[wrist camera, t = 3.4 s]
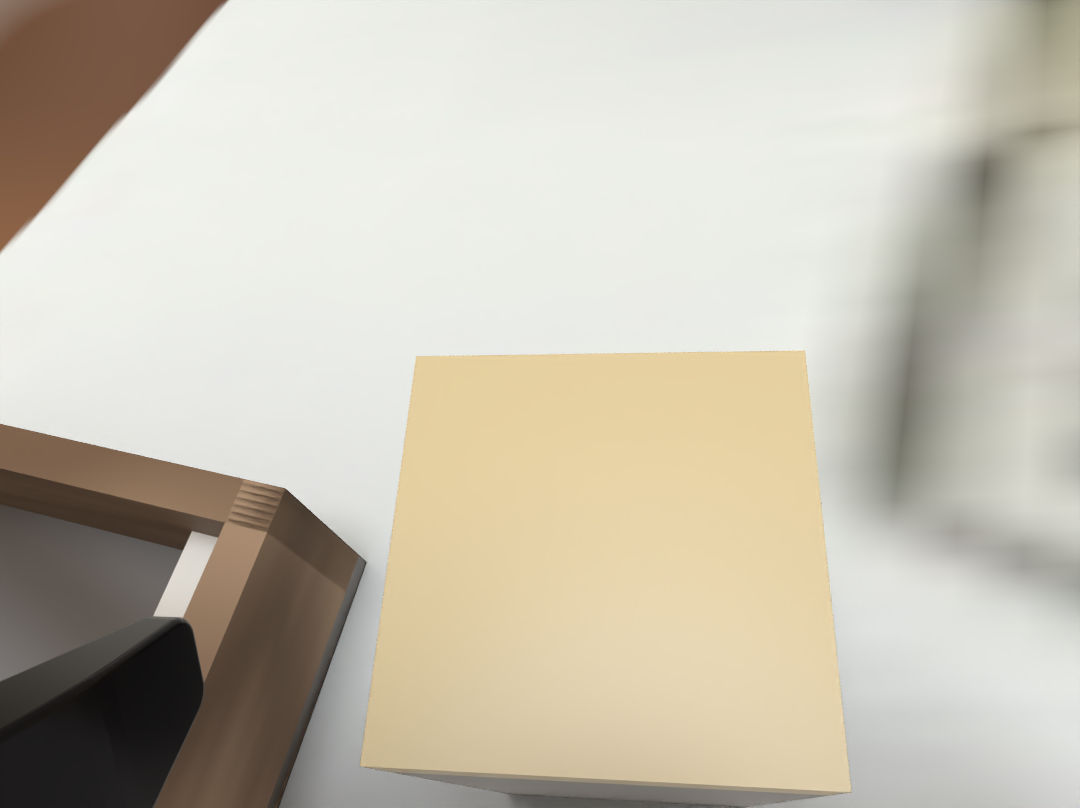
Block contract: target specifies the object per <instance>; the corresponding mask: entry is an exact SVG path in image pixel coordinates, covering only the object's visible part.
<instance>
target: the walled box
mask: <svg viewBox="0 0 1080 808" xmlns="http://www.w3.org/2000/svg"><path fill="white" fill-rule="evenodd" d="M365 564H366V561H365V560H364V559H363V558H362V557H360V556H359V555H358V554H357V553H356V552H355V551H354V550H353V549H352V548H350V547H349V546H348V545H347V544H346V543H345V542H344V541H343V540H342V539H341V538H339V537H338V536H337V535H336V534H335V533H334V532H333V531H332V530H331V529H330V528H328V527H327V526H326V525H325V524H324V523H323V522H322V521H321V520H320V519H318V518H317V517H316V516H315V515H314V514H313V513H312V512H311V511H310V510H309V509H307V508H306V507H305V506H304V505H303V504H302V503H301V502H300V501H299V500H298V499H296V498H295V497H294V496H293V495H292V494H291V493H290V492H289V491H288V490H286V489H285V488H281V487H276V486H272V485H268V484H263V483H259V482H254V481H250V480H246V479H241V478H237V477H232V476H228V475H223V474H219V473H215V472H210V471H206V470H201V469H197V468H193V467H188V466H184V465H179V464H175V463H171V462H166V461H162V460H157V459H153V458H148V457H144V456H140V455H135V454H131V453H126V452H122V451H118V450H113V449H109V448H104V447H100V446H96V445H91V444H87V443H82V442H78V441H73V440H69V439H65V438H60V437H56V436H51V435H47V434H43V433H38V432H34V431H29V430H25V429H21V428H16V427H12V426H7V425H3V424H0V681H2V680H4V679H7V678H9V677H11V676H13V675H16V674H18V673H20V672H23V671H25V670H27V669H29V668H32V667H34V666H36V665H38V664H41V663H43V662H45V661H47V660H50V659H52V658H54V657H57V656H59V655H61V654H63V653H66V652H68V651H70V650H72V649H75V648H77V647H79V646H81V645H84V644H86V643H88V642H90V641H93V640H95V639H97V638H100V637H102V636H104V635H106V634H109V633H111V632H113V631H115V630H118V629H120V628H122V627H124V626H127V625H129V624H131V623H134V622H136V621H138V620H140V619H143V618H145V617H150V616H160V617H181V618H184V619H186V620H187V621H188V622H189V623H190V624H191V626H192V628H193V632H194V636H195V641H196V646H197V651H198V655H199V660H200V665H201V670H202V675H203V680H204V696H203V701H202V704H201V707H200V710H199V712H198V714H197V716H196V718H195V721H194V723H193V725H192V727H191V729H190V731H189V733H188V736H187V738H186V740H185V742H184V744H183V746H182V748H181V751H180V753H179V755H178V757H177V759H176V761H175V763H174V766H173V768H172V770H171V772H170V774H169V776H168V778H167V780H166V783H165V785H164V787H163V789H162V791H161V793H160V795H159V798H158V800H157V802H156V804H155V806H154V808H278V806H279V803H280V800H281V797H282V795H283V792H284V789H285V786H286V783H287V781H288V778H289V775H290V772H291V770H292V767H293V764H294V761H295V758H296V756H297V753H298V750H299V747H300V745H301V742H302V739H303V736H304V733H305V731H306V728H307V725H308V722H309V720H310V717H311V714H312V711H313V708H314V706H315V703H316V700H317V697H318V695H319V692H320V689H321V686H322V684H323V681H324V678H325V675H326V672H327V670H328V667H329V664H330V661H331V659H332V656H333V653H334V650H335V647H336V645H337V642H338V639H339V636H340V634H341V631H342V628H343V625H344V622H345V620H346V617H347V614H348V611H349V609H350V606H351V603H352V600H353V597H354V595H355V592H356V589H357V586H358V584H359V581H360V578H361V575H362V572H363V570H364V567H365Z"/></svg>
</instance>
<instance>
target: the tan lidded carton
mask: <svg viewBox="0 0 1080 808" xmlns="http://www.w3.org/2000/svg"><path fill="white" fill-rule="evenodd" d="M360 767H366V768H371V769H377V770H382V771H387V772H393V773H398V774H404V775H409V776H415V777H420V778H426V779H431V780H436V781H442V782H447V783H453V784H458V785H464V786H469V787H474V788H480V789H485V790H491V791H496V792H502V793H507V794H522V795H540V796H558V797H575V798H593V799H611V800H629V801H647V802H665V803H683V804H701V805H719V806H736V807H749V806H756V805H763V804H771V803H778V802H785V801H792V800H800V799H807V798H814V797H821V796H829V795H836V794H843V793H850V792H851V783H850V774H849V764H848V755H847V745H846V736H845V727H844V717H843V708H842V698H841V689H840V679H839V670H838V660H837V651H836V641H835V632H834V622H833V613H832V603H831V594H830V584H829V575H828V565H827V556H826V546H825V537H824V527H823V518H822V508H821V499H820V489H819V480H818V470H817V461H816V451H815V442H814V432H813V423H812V413H811V404H810V394H809V385H808V375H807V366H806V356H805V351H750V352H682V353H614V354H546V355H478V356H416V362H415V369H414V377H413V384H412V391H411V398H410V406H409V413H408V420H407V427H406V435H405V442H404V449H403V456H402V464H401V471H400V478H399V485H398V493H397V500H396V507H395V514H394V522H393V529H392V536H391V543H390V551H389V558H388V565H387V572H386V580H385V587H384V594H383V601H382V609H381V616H380V623H379V630H378V638H377V645H376V652H375V659H374V667H373V674H372V681H371V688H370V696H369V703H368V710H367V717H366V725H365V732H364V739H363V747H362V754H361V761H360Z"/></svg>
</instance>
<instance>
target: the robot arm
mask: <svg viewBox="0 0 1080 808" xmlns="http://www.w3.org/2000/svg"><path fill="white" fill-rule="evenodd" d="M203 696H204V680H203V675H202V670H201V665H200V660H199V655H198V651H197V646H196V641H195V636H194V632H193V628H192V626H191V624H190V623H189V622H188V621H187V620H186V619H184V618H181V617H160V616H150V617H145V618H143V619H140V620H138V621H136V622H134V623H131V624H129V625H127V626H124V627H122V628H120V629H118V630H115V631H113V632H111V633H109V634H106V635H104V636H102V637H100V638H97V639H95V640H93V641H90V642H88V643H86V644H84V645H81V646H79V647H77V648H75V649H72V650H70V651H68V652H66V653H63V654H61V655H59V656H57V657H54V658H52V659H50V660H47V661H45V662H43V663H41V664H38V665H36V666H34V667H32V668H29V669H27V670H25V671H23V672H20V673H18V674H16V675H13V676H11V677H9V678H7V679H4V680H2V681H0V808H154V806H155V804H156V802H157V800H158V798H159V795H160V793H161V791H162V789H163V787H164V785H165V783H166V780H167V778H168V776H169V774H170V772H171V770H172V768H173V766H174V763H175V761H176V759H177V757H178V755H179V753H180V751H181V748H182V746H183V744H184V742H185V740H186V738H187V736H188V733H189V731H190V729H191V727H192V725H193V723H194V721H195V718H196V716H197V714H198V712H199V710H200V707H201V704H202V701H203Z"/></svg>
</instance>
